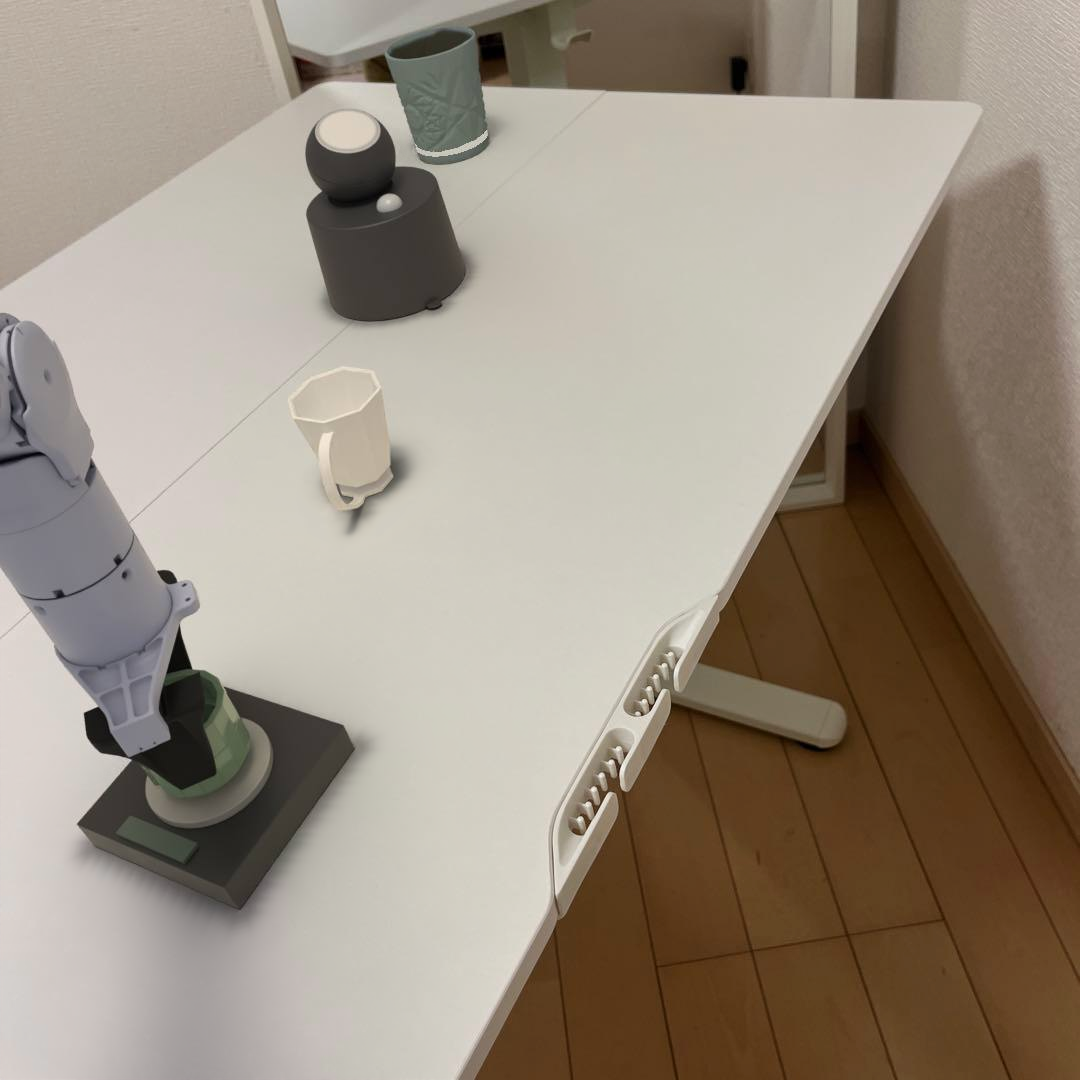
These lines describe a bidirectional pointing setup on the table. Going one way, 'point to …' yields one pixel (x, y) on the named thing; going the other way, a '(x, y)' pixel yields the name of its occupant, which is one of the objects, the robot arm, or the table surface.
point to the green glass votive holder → (212, 737)
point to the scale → (225, 805)
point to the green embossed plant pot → (440, 90)
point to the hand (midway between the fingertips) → (188, 736)
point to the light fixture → (377, 222)
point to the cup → (345, 432)
